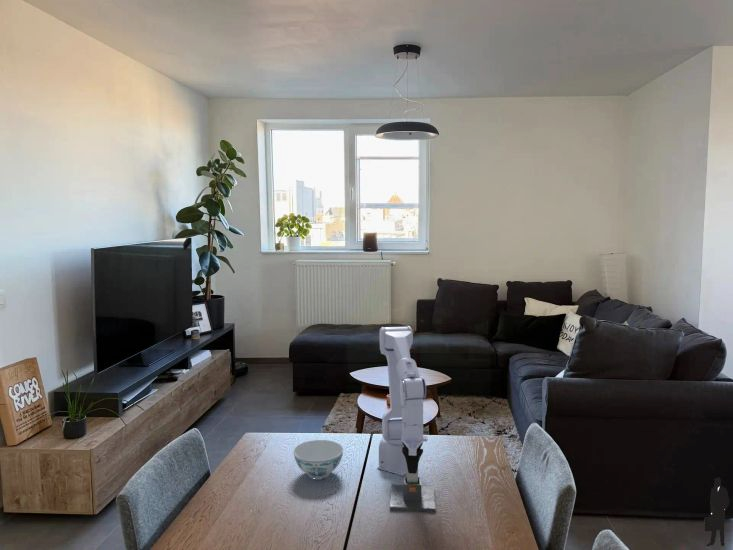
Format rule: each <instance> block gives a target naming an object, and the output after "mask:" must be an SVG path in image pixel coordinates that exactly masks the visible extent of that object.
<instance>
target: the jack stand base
mask: <svg viewBox="0 0 733 550" xmlns="http://www.w3.org/2000/svg"><path fill="white" fill-rule="evenodd" d="M390 487H391V488H390V498H389V499H390V500H389V501H390V502H389V511H396V512H398V511H400V512H423V513H436V500H435V489H434V485H422V476H418V484H407V475H404V476H403V485H402V484H391V486H390Z"/></svg>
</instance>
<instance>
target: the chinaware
mask: <svg viewBox="0 0 733 550" xmlns="http://www.w3.org/2000/svg"><path fill="white" fill-rule="evenodd" d="M343 454H344V447H343V446H342V444H340V443H338V442H336V441H332V440H327V439H314V440H309V441H305V442H302V443H300V444H298V445H297V446H295V447H294V448H293V456H294V461H295V462H296V464H297V466H298V468H299V469H300V470H301V471H302V472H303V473H305V474H306V475H307V477H308V476H309V477H308V478H310V477H311V478H310V479H312V478H315V479H314V480H322V479H321V478H324V479H326V478H325V477H327V478H328V477H330V475H331V473H332V472H334V470H336V469H337V468H338V466H339V464H340V463H341V461H342V458H343Z"/></svg>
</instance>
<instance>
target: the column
mask: <svg viewBox="0 0 733 550" xmlns="http://www.w3.org/2000/svg"><path fill="white" fill-rule="evenodd" d="M406 476H407V484H418V477H419V468H418V469H417V473H416V474H412V473H409V472H408V468H407V473H406Z"/></svg>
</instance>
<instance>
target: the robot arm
mask: <svg viewBox="0 0 733 550" xmlns="http://www.w3.org/2000/svg"><path fill="white" fill-rule="evenodd" d="M378 334H379V336H378V337H379V338H378V339H379V351H380V354H381V355H384V356H385V357H386V361H387V372H388V389H389V390H388V391H389V392H388V393H389V405H390V408H389V409H388V410H386V412H384V413H383V414H382V417H381V422H382V423H381V435H382V439H381V440H380V442H379V445H378V465H377V469H378V470H382V471H385V472H389V473H392V474H396V475H398V476H400V477H404V476H406V475H407V468H408V472H409V473H412V474H416V473H417V469H418V470H419V463H420V461H421V457H422V456H423V453H424V448H422V447H423V444H424V443H425V442H426V443H427V442H428V436H425V435H424V400H425V399H426V396H427V384H426V380H425V378H424V376H423V375H421V374H420V372H419V368H418V366H417V362H416V360H415V359H413V358H411V352H410V350H411V347H412V345H413V343H414V335H413V334H414V333H413V328H412V327H411V326H410V325H407V326H388V327H387V326H385V327H384V326H381V328H379V332H378Z"/></svg>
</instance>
